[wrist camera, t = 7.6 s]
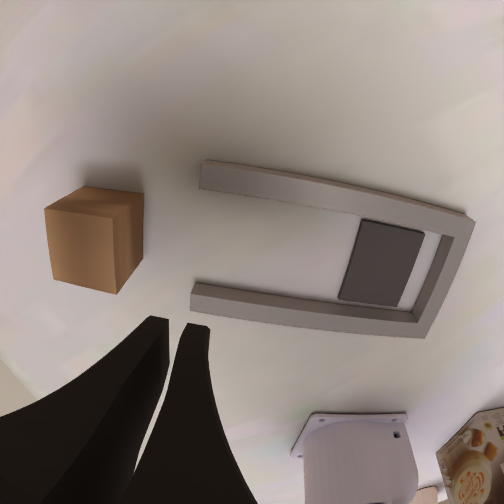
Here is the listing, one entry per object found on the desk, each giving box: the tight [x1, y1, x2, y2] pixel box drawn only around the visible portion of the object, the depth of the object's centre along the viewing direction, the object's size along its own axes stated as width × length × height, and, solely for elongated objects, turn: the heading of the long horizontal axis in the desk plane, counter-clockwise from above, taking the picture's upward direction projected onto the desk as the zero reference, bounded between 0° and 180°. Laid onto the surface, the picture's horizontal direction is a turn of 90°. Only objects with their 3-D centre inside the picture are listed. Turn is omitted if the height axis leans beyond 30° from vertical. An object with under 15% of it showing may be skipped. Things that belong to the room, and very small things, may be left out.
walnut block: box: [44, 187, 144, 295], centre depth 15 cm, size 4×4×4 cm
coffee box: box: [436, 408, 504, 504], centre depth 19 cm, size 9×6×16 cm
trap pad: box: [338, 219, 425, 307], centre depth 17 cm, size 4×5×1 cm
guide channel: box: [190, 160, 476, 339], centre depth 17 cm, size 15×8×1 cm, turn 81°
